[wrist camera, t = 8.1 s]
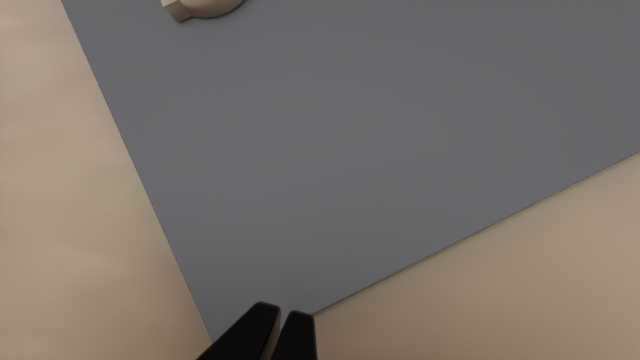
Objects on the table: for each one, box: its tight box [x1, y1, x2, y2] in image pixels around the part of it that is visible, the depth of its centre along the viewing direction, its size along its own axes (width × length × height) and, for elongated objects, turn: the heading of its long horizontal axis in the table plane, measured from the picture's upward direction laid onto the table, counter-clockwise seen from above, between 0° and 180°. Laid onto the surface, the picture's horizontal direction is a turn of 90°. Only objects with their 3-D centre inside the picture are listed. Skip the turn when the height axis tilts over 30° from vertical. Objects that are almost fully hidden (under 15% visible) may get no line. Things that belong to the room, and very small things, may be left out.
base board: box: [61, 0, 640, 343], centre depth 23 cm, size 22×19×1 cm
